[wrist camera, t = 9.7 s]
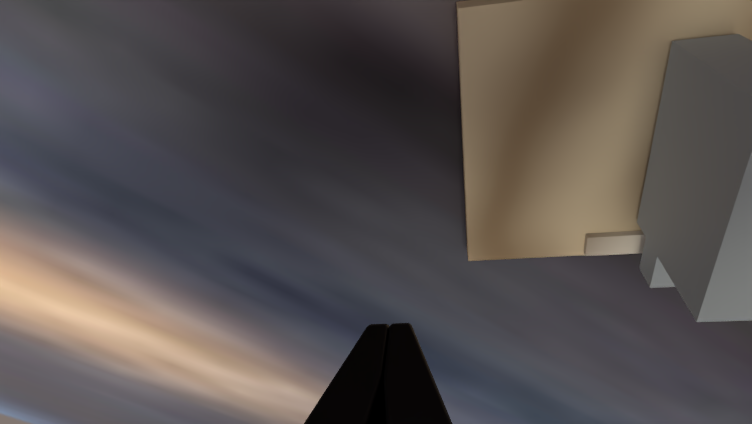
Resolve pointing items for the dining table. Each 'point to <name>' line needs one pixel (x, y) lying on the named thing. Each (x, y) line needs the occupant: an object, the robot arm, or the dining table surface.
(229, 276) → the dining table surface
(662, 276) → the grey rectangular block
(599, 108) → the gauge board
